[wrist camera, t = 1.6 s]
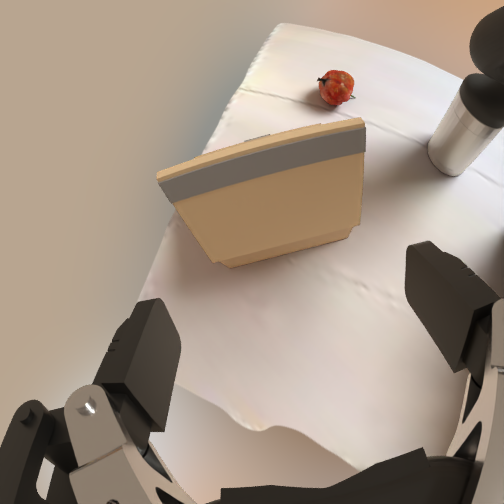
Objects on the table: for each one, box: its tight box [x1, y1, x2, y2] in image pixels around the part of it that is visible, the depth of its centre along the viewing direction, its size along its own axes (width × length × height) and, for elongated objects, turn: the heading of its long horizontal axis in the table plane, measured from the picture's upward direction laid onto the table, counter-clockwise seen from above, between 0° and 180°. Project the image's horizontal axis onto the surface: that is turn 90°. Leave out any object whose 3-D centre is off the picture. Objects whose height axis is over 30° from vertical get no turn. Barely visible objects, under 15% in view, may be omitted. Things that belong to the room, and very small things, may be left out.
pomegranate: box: [317, 70, 355, 105], centre depth 51 cm, size 7×7×10 cm
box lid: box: [157, 117, 366, 263], centre depth 32 cm, size 16×20×1 cm
